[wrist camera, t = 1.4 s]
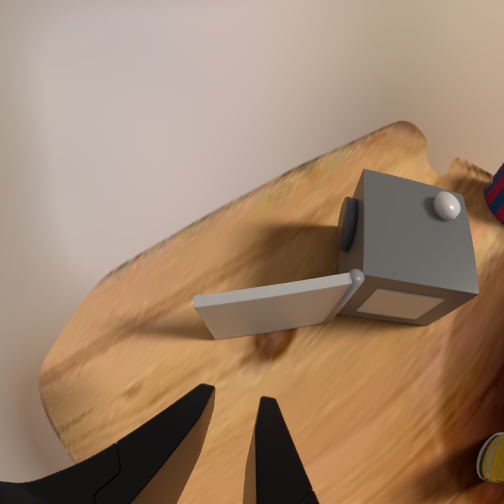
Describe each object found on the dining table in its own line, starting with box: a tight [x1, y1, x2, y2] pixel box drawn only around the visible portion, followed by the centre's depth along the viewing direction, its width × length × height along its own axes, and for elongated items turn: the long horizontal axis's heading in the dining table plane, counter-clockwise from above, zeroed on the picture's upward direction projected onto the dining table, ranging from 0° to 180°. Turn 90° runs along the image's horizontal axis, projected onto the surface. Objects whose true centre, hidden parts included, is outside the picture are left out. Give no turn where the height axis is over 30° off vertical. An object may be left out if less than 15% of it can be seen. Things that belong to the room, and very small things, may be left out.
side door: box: [193, 269, 364, 340], centre depth 19 cm, size 9×1×8 cm, turn 98°
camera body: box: [336, 169, 479, 326], centre depth 21 cm, size 8×9×8 cm
